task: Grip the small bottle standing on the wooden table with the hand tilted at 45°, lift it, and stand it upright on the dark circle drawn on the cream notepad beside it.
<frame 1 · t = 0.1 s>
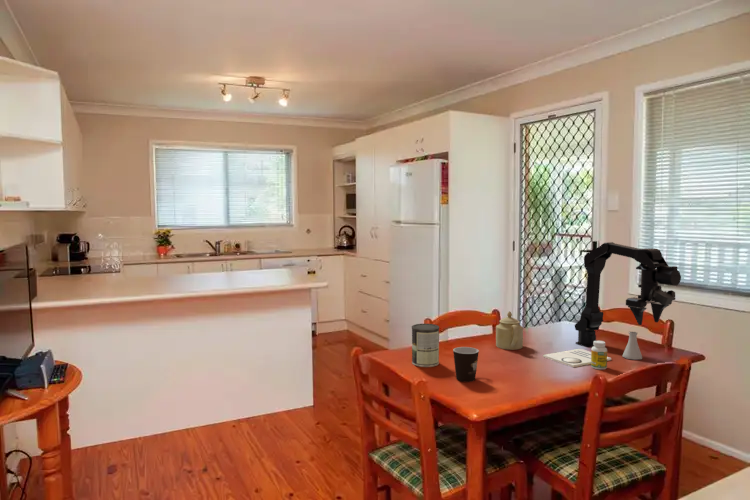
hand: (648, 323, 196), 15 cm above the table, tool pointing down, fingers open, 9 cm apart
flask: (632, 358, 203), on the table
coffee can: (425, 363, 197), on the table
supplement bottle: (598, 368, 190), on the table
sugar bowl: (512, 347, 218), on the table
notepad: (576, 358, 202), on the table
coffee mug: (469, 378, 179), on the table
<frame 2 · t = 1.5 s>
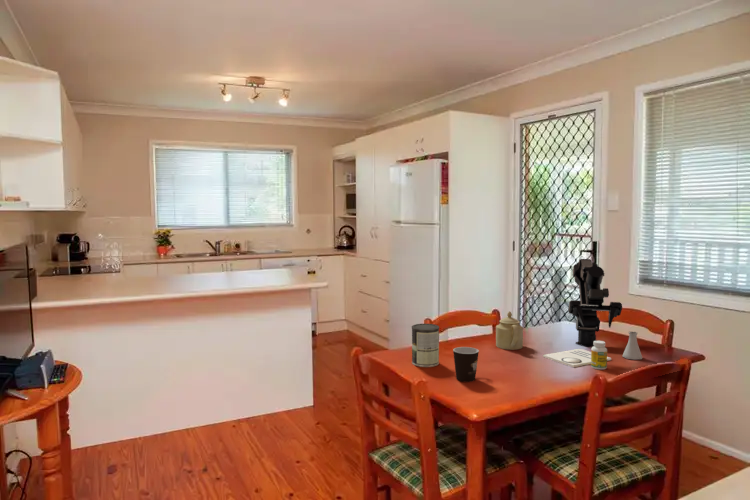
hand: (596, 326, 197), 13 cm above the table, tool tilted 45°, fingers open, 9 cm apart
nothing on the table moved.
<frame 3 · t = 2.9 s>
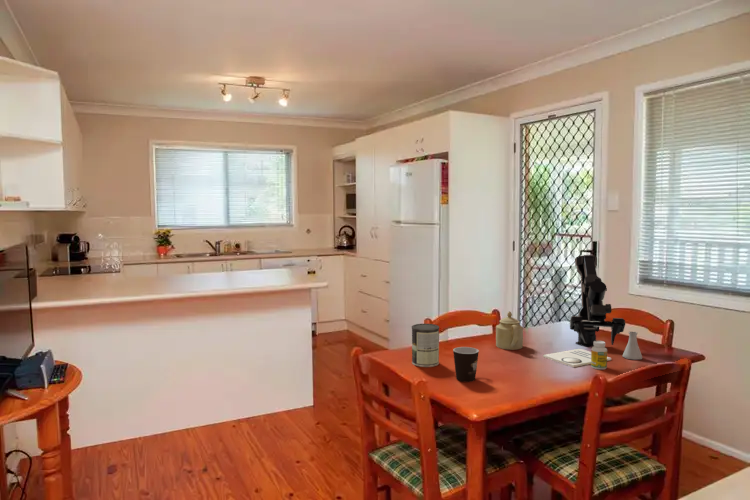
hand: (599, 343, 190), 9 cm above the table, tool tilted 45°, fingers open, 9 cm apart
nothing on the table moved.
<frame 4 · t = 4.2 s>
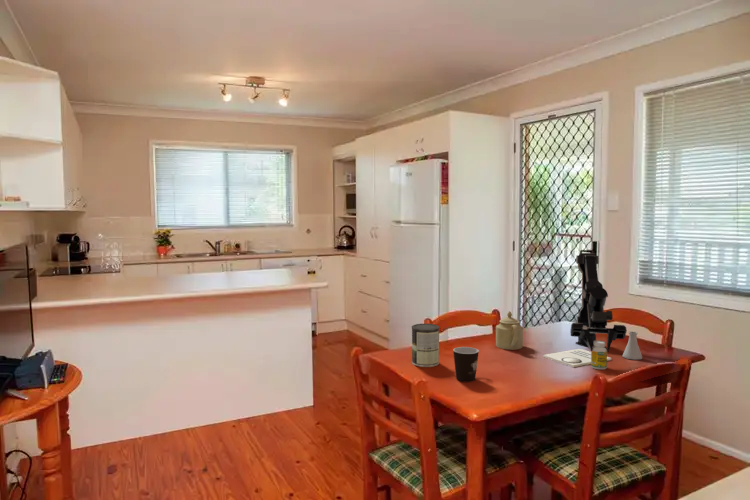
hand: (599, 350, 188), 7 cm above the table, tool tilted 45°, fingers closed on supplement bottle, 5 cm apart
supplement bottle: (598, 368, 190), on the table, touching gripper
everything else where it was.
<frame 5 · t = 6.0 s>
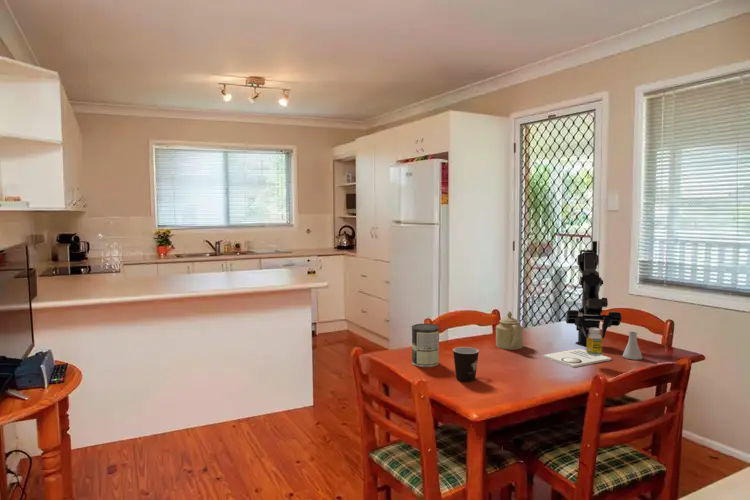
hand: (595, 337, 189), 11 cm above the table, tool tilted 45°, fingers closed on supplement bottle, 5 cm apart
supplement bottle: (594, 354, 191), point 4 cm above the table, touching gripper
everything else where it was.
when the fingers open (9 cm above the table, at t = 8.1 s): supplement bottle drops 1 cm, resting on notepad.
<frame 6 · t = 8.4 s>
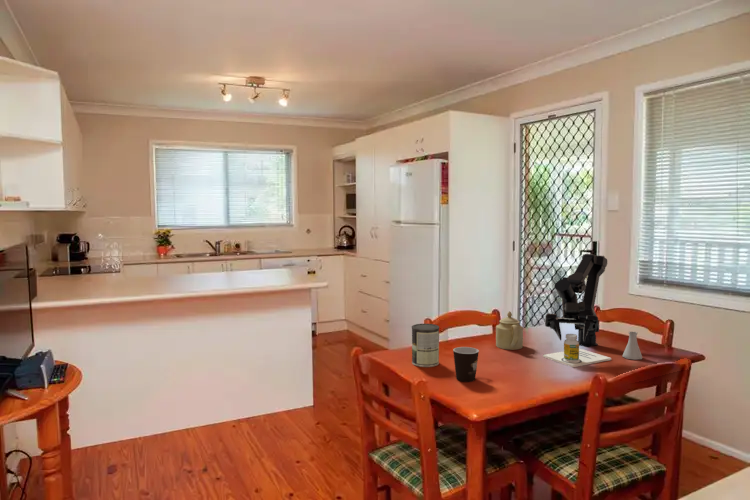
hand: (572, 340, 194), 9 cm above the table, tool tilted 45°, fingers open, 8 cm apart
supplement bottle: (571, 360, 197), point 1 cm above the table, touching notepad
everything else where it was.
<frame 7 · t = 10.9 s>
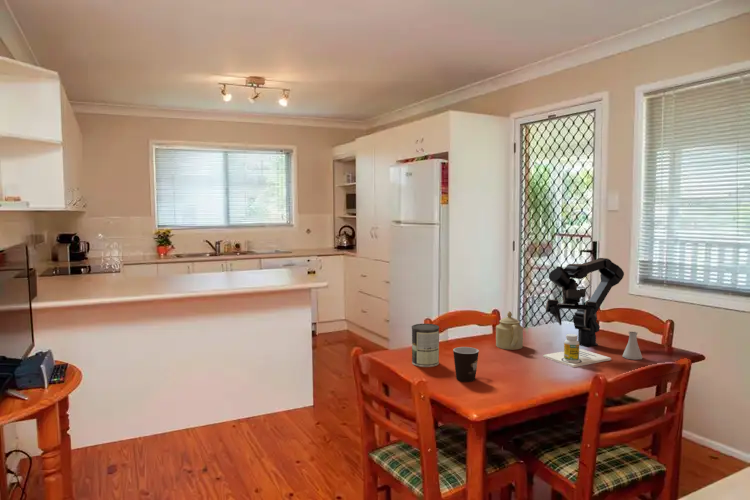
hand: (573, 325, 203), 12 cm above the table, tool tilted 40°, fingers open, 9 cm apart
nothing on the table moved.
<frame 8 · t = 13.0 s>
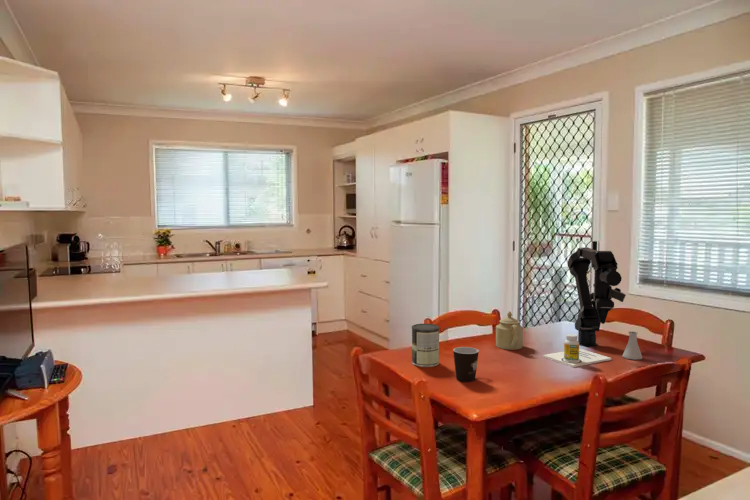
hand: (601, 321, 208), 13 cm above the table, tool pointing down, fingers open, 9 cm apart
nothing on the table moved.
at the end: supplement bottle 0.2 cm from the target spot, point 0.7 cm above the table; supplement bottle tilted 0°; the gripper is holding nothing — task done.
